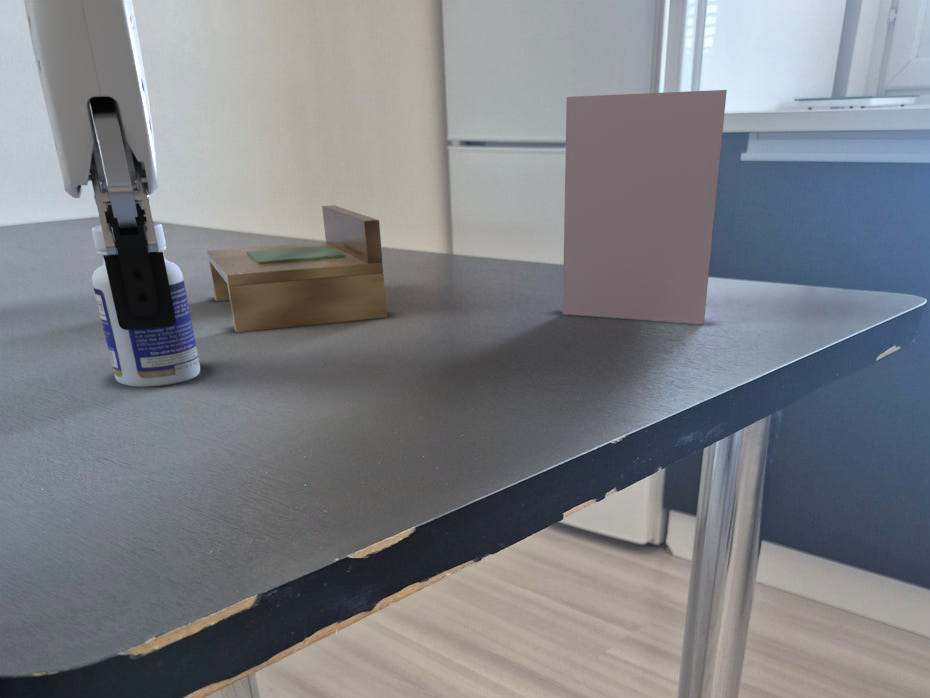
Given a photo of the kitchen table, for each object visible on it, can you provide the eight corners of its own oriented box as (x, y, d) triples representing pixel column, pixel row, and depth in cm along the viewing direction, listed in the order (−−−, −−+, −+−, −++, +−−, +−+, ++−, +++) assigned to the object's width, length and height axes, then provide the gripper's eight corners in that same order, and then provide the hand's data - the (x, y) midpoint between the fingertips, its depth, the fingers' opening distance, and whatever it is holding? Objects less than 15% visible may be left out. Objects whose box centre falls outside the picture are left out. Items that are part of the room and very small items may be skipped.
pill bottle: (216, 369, 57) (191, 220, 53) (172, 391, 53) (140, 231, 49) (146, 365, 59) (116, 219, 54) (97, 386, 54) (59, 230, 50)
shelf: (237, 336, 67) (219, 230, 63) (215, 302, 80) (200, 213, 76) (387, 320, 71) (379, 220, 67) (343, 291, 84) (334, 205, 80)
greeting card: (712, 326, 65) (737, 89, 57) (630, 338, 62) (644, 91, 55) (625, 303, 74) (636, 95, 66) (549, 313, 71) (551, 97, 64)
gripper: (4, -33, 50) (84, 299, 60) (-33, -89, 37) (78, 354, 46) (141, -29, 53) (196, 290, 62) (154, -81, 39) (223, 340, 48)
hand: (145, 314), depth 54 cm, fingers closed on pill bottle, 5 cm apart
